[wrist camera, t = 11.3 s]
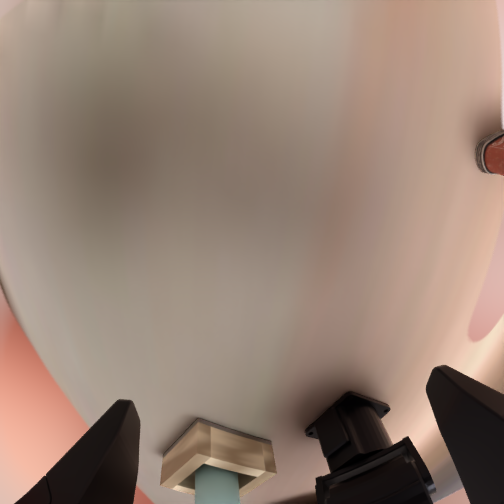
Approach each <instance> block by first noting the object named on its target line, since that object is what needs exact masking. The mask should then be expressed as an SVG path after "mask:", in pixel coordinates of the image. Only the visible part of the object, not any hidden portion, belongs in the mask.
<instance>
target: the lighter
mask: <svg viewBox="0 0 504 504" xmlns="http://www.w3.org/2000/svg"><path fill="white" fill-rule="evenodd" d="M475 159H476V163H477V166H478V168H479V170H480V171H481V172H484V173H488V174H491V175H495V174H500V175H503V176H504V130H500V131H498V132H495V133H493V134H491V135H489V136H487V137H486V138H484V139H483V140H481V141H480V142H479V143H478V145H477V147H476V152H475Z"/></svg>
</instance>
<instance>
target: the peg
mask: <svg viewBox="0 0 504 504" xmlns="http://www.w3.org/2000/svg"><path fill="white" fill-rule="evenodd" d="M195 504H240V495H239V483H238V472H234V471H230V470H226V469H222V468H218V467H215V466H211V465H208V464H202V465H201V466H200V467H199V468H198V469H196V470H195Z"/></svg>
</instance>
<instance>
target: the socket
mask: <svg viewBox="0 0 504 504" xmlns="http://www.w3.org/2000/svg"><path fill="white" fill-rule="evenodd" d="M202 464H208V465H211V466H215V467H218V468H222V469H226V470H230V471H234V472H238V483H239V495H240V497H242V496H244V495H245V494H247V493H248V492H250V491H252V490H253V489H255V488H256V487H258V486H259V485H261V484H262V483H264V482H265V481H267V480H268V479H270V478H271V477H273V476H274V475H275V474H277V472H276V466H275V460H274V454H273V449H272V443H271V441H268V440H264V439H261V438H257V437H254V436H251V435H247V434H244V433H241V432H238V431H235V430H232V429H229V428H226V427H223V426H220V425H217V424H214V423H211V422H208V421H206V420H203V419H200V418H198V419H197V420H196V421H195V422H194V423H193V424H192V425H191V426H190V427H189V428H188V429H187V431H186V432H185V433H184V434H183V435H182V436H181V437H180V438H179V439H178V440H177V441H176V442H175V443H174V444H173V445H172V446H171V447H170V448H169V449H168V450H167V451H166V452H165V453H164V455H163V461H162V471H161V481H160V486H163V487H167V488H170V489H174V490H177V491H181V492H184V493H188V494H192V495H195V470H196V469H198V468H199V467H200V466H201V465H202Z"/></svg>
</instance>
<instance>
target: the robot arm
mask: <svg viewBox="0 0 504 504" xmlns="http://www.w3.org/2000/svg"><path fill="white" fill-rule="evenodd" d="M426 393H427V396H428V399H429V401H430V404H431V407H432V410H433V413H434V416H435V419H436V422H437V425H438V427H439V430H440V432H441V435H442V437H443V439H444V441H445V443H446V446H447V448H448V450H449V453H450V455H451V457H452V459H453V462H454V464H455V466H456V469H457V471H458V474H459V476H460V478H461V481H462V483H463V486H464V488H465V491H466V493H467V496H468V499H469V501H470V504H504V394H502V393H500V392H498V391H496V390H494V389H492V388H490V387H488V386H486V385H484V384H482V383H480V382H478V381H476V380H474V379H472V378H470V377H468V376H466V375H464V374H462V373H460V372H459V371H457V370H455V369H453V368H451V367H449V366H447V365H441V366H437V367H435V368H434V369H433V370H432V372H431V375H430V377H429V380H428V382H427V385H426ZM389 411H390V407H389V405H387V404H384V403H381V402H378V401H376V400H373V399H370V398H367V397H365V396H362V395H359V394H357V393H354V392H347V393H346V394H344V395H343V396H342V397H341V398H340V399H339V400H338V401H337V402H336V403H335V404H334V405H333V406H332V407H331V408H330V409H329V410H327V411H326V412H325V413H324V414H323V415H322V416H321V417H320V418H319V419H317V420H316V421H315V422H314V423H313V424H312V425H311V426H309V427H308V428H307V429H306V430H305V434H306V436H308V437H312V438H316V439H319V442H320V445H321V449H322V452H323V455H324V457H325V458H326V459H327V463H328V466H329V469H330V474H327V475H325V476H319V477H317V478H316V485H315V489H316V496H317V504H433V502H432V500H431V497H430V496H431V495H433V494H434V493H436V488H435V485H434V482H433V480H432V477H431V475H430V473H429V471H428V469H427V467H426V465H425V463H424V462H423V460H422V458H421V457H420V455H419V453H418V452H417V450H416V448H415V447H414V445H413V443H412V442H411V440H410V438H409V437H408V436H407V437H405V438H403V440H401V441H400V442H398V443H396V444H394V445H393V443H392V441H391V439H390V437H389V435H388V433H387V431H386V429H385V427H384V425H383V423H382V421H381V418H382V417H384V416H385V415H386V414H387V413H388V412H389ZM139 440H140V418H139V416H138V413H137V411H136V408H135V405H134V403H133V401H132V400H124V399H119V400H117V401H116V402H115V403H114V404H113V405H112V406H111V407H110V408H109V409H108V410H107V411H106V412H105V413H104V414H103V415H102V416H101V418H100V419H99V420H98V421H97V422H96V423H95V424H94V425H93V426H92V427H91V428H90V429H89V430H88V431H87V432H86V433H85V434H84V435H83V436H82V437H81V438H80V439H79V440H78V441H77V442H76V443H75V445H74V446H73V447H72V448H71V449H70V450H69V451H68V452H67V453H66V454H65V455H64V456H63V457H62V458H61V459H60V460H59V461H58V462H57V463H56V464H55V465H54V466H53V467H52V468H51V469H50V470H49V471H48V472H47V474H46V476H43V477H42V479H41V480H40V481H39V482H38V483H37V484H36V485H35V486H34V487H33V488H31V489H30V490H29V491H28V492H27V493H26V494H25V495H24V496H23V497H22V498H20V499H19V500H18V501H17V502H16V503H14V504H133V501H134V494H135V488H136V482H137V475H138V464H139Z"/></svg>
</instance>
